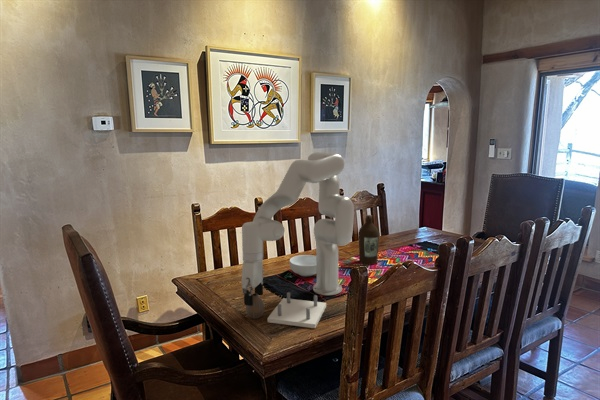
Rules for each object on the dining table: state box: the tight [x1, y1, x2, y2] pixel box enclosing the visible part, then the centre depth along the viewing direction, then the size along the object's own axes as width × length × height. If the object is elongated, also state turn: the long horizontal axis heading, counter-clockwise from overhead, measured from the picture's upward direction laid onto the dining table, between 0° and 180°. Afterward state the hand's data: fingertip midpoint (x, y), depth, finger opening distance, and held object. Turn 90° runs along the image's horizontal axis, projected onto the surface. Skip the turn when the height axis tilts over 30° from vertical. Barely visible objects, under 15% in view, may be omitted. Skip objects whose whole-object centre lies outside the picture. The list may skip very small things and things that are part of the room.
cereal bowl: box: [289, 254, 317, 277], centre depth 191 cm, size 17×17×7 cm
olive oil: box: [358, 214, 380, 266], centre depth 205 cm, size 11×11×25 cm
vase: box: [245, 292, 265, 320], centre depth 148 cm, size 7×7×9 cm
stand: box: [267, 291, 327, 329], centre depth 150 cm, size 18×18×6 cm
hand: (253, 299), depth 147 cm, fingers open, 9 cm apart
